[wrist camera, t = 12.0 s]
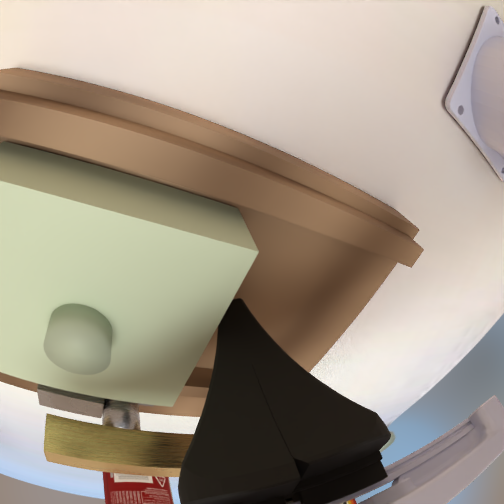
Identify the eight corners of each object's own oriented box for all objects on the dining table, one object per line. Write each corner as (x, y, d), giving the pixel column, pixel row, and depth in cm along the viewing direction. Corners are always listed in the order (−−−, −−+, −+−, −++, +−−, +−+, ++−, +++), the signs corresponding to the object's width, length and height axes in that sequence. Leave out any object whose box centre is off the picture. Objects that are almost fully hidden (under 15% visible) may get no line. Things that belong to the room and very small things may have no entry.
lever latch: (42, 359, 11) (29, 446, 8) (190, 387, 14) (206, 467, 11) (43, 379, 12) (35, 458, 8) (180, 403, 15) (193, 477, 12)
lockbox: (395, 209, 15) (435, 243, 12) (258, 394, 21) (270, 431, 19) (15, 67, 7) (-32, 75, 4) (5, 354, 13) (-6, 397, 11)
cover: (237, 208, 10) (270, 276, 7) (167, 360, 13) (175, 427, 11) (3, 141, 6) (-61, 187, 4) (2, 323, 10) (-18, 388, 7)
